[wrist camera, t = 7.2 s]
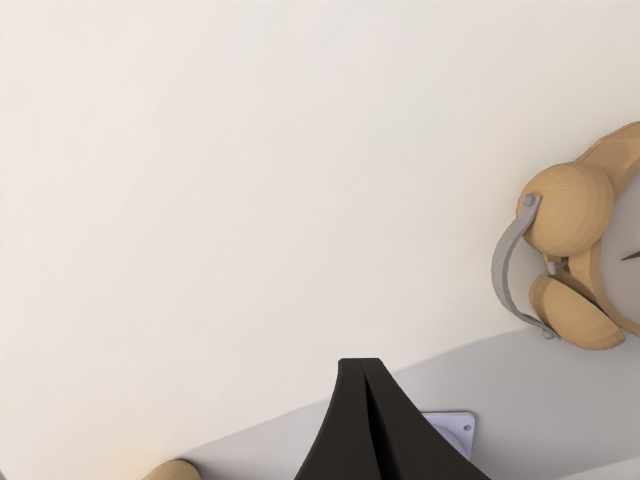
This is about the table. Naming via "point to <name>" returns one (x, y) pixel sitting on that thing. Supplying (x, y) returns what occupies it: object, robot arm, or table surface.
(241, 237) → the table surface
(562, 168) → the alarm clock
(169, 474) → the boot
